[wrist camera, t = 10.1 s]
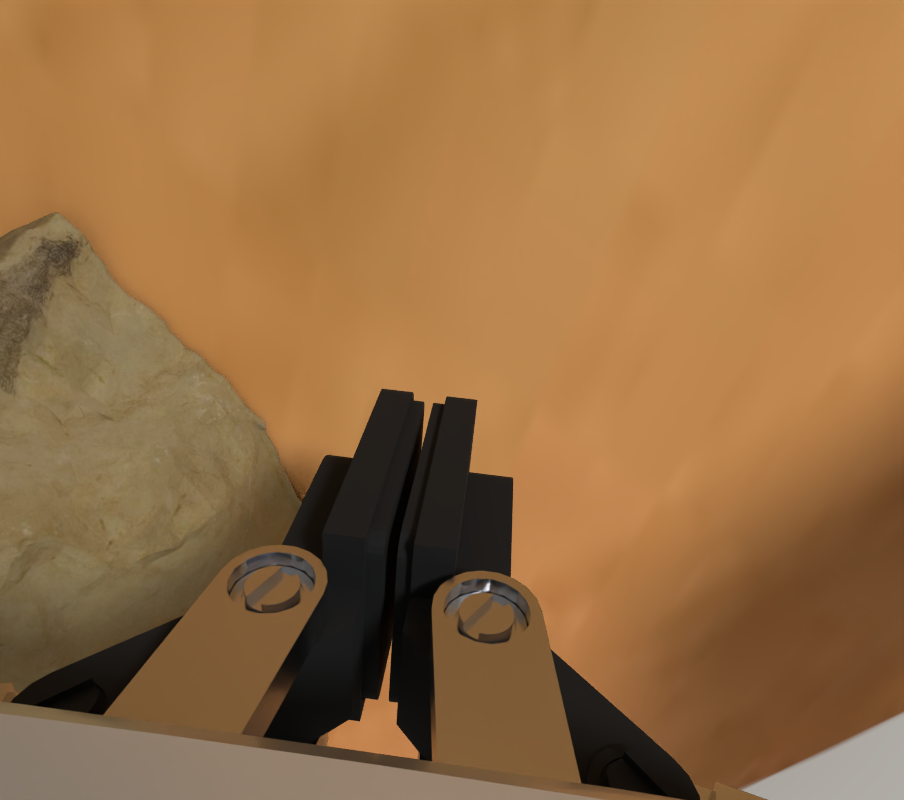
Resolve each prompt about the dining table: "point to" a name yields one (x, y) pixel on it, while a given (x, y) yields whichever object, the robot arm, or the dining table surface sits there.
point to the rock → (112, 461)
